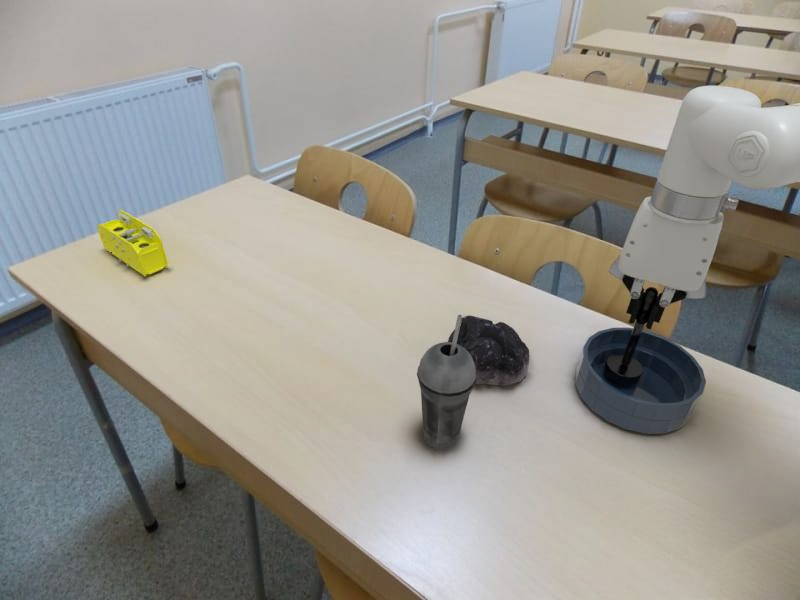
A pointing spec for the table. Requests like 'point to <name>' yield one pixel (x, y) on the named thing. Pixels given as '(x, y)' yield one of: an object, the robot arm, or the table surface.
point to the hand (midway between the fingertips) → (641, 320)
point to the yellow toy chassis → (133, 243)
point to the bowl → (641, 382)
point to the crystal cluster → (493, 350)
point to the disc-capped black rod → (631, 347)
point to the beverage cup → (445, 390)
